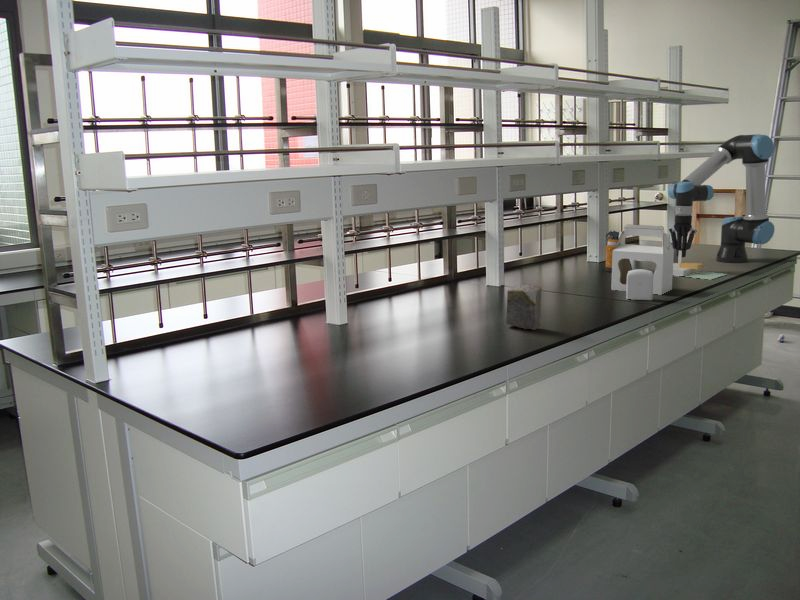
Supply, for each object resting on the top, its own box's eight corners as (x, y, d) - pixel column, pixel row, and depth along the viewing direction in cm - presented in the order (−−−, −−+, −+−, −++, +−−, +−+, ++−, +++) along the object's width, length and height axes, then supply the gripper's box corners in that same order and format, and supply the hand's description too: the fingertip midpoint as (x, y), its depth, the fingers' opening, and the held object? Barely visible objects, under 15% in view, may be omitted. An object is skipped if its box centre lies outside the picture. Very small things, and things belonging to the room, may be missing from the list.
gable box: (610, 290, 317) (612, 225, 311) (622, 285, 327) (624, 222, 321) (662, 295, 303) (665, 228, 297) (672, 290, 313) (676, 225, 307)
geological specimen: (505, 328, 256) (506, 285, 253) (513, 324, 261) (513, 283, 258) (534, 331, 250) (535, 288, 247) (541, 327, 255) (542, 285, 252)
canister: (612, 273, 355) (614, 232, 351) (598, 270, 365) (600, 230, 361) (628, 272, 358) (629, 231, 354) (613, 268, 368) (615, 229, 364)
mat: (702, 272, 353) (702, 271, 353) (727, 274, 345) (727, 274, 345) (685, 277, 341) (685, 276, 341) (710, 280, 333) (710, 279, 333)
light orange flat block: (679, 267, 350) (679, 263, 350) (685, 265, 354) (685, 261, 354) (697, 269, 344) (697, 265, 343) (703, 267, 348) (703, 263, 347)
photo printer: (625, 300, 296) (626, 270, 293) (625, 298, 300) (627, 268, 297) (652, 301, 293) (654, 270, 290) (652, 298, 297) (653, 268, 294)
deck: (673, 268, 364) (673, 262, 364) (700, 271, 354) (701, 265, 353) (655, 273, 352) (655, 267, 352) (683, 277, 342) (683, 270, 342)
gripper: (666, 214, 350) (664, 263, 355) (693, 216, 340) (690, 266, 345) (674, 213, 355) (671, 261, 360) (700, 214, 345) (697, 264, 350)
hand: (680, 263), depth 352 cm, fingers closed
